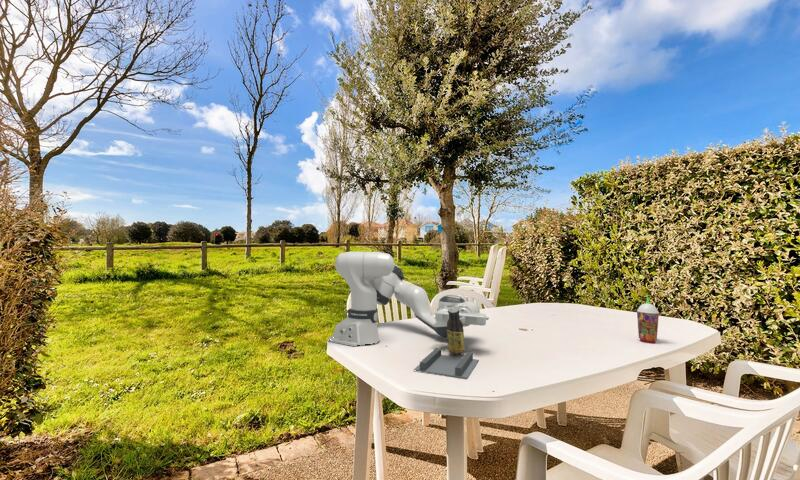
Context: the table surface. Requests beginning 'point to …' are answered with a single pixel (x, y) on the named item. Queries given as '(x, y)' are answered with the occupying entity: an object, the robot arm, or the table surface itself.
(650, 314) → the smoothie
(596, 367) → the table surface
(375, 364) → the table surface
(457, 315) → the sauce bottle
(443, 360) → the holder
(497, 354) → the table surface
